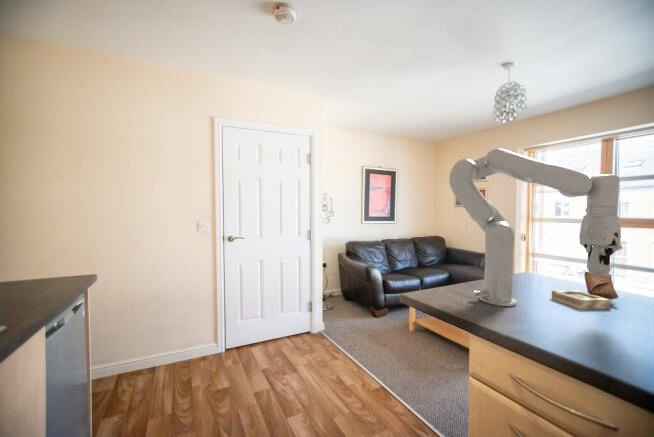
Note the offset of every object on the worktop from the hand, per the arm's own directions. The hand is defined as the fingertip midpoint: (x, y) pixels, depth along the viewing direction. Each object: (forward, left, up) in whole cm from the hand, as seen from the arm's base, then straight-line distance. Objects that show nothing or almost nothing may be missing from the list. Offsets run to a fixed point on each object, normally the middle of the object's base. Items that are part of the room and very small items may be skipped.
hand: (598, 265), depth 95 cm
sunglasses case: (+22, +17, -13) cm, 31 cm away
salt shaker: (0, 0, -3) cm, 3 cm away
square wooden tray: (+8, +13, -18) cm, 24 cm away
